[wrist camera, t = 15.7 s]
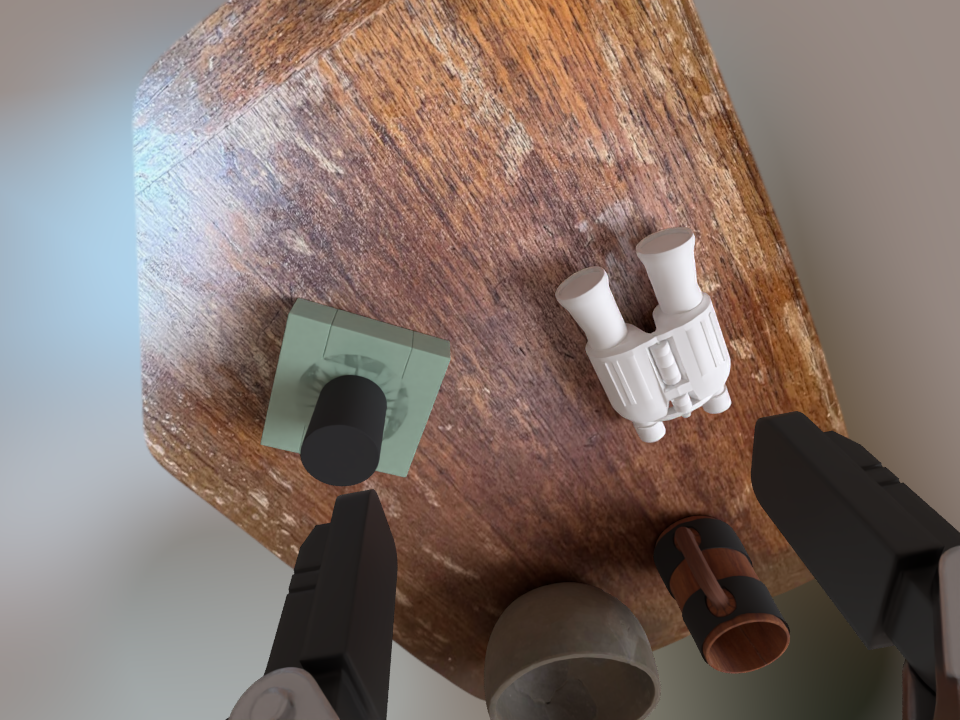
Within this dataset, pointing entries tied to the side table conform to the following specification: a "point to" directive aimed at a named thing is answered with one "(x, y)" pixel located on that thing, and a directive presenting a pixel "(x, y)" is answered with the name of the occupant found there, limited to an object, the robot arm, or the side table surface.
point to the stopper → (345, 431)
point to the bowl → (569, 658)
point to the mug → (720, 595)
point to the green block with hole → (355, 351)
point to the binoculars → (654, 338)
